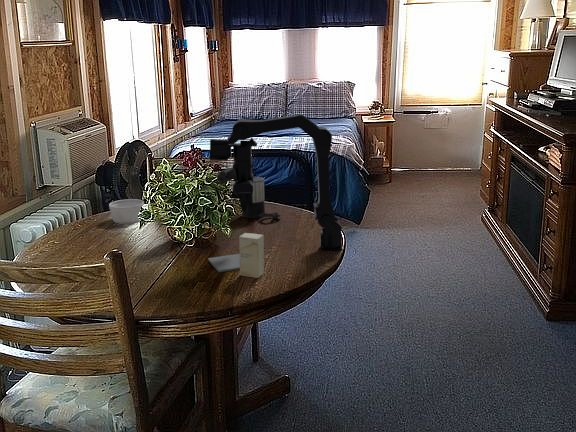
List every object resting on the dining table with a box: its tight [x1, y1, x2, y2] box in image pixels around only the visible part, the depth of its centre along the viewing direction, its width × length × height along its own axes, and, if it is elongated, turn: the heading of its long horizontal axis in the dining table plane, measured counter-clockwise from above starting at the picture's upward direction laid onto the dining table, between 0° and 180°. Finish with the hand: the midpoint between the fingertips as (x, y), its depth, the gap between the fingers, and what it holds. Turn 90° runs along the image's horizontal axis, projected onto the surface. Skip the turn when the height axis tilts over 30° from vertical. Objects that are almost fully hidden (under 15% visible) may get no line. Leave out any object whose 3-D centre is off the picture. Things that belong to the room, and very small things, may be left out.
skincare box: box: [238, 232, 265, 279], centre depth 183 cm, size 6×4×12 cm
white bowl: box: [108, 198, 145, 225], centre depth 242 cm, size 13×13×7 cm
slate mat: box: [207, 253, 240, 273], centre depth 194 cm, size 14×12×1 cm
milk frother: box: [241, 176, 281, 220], centre depth 241 cm, size 14×16×15 cm
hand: (244, 207), depth 202 cm, fingers open, 9 cm apart
